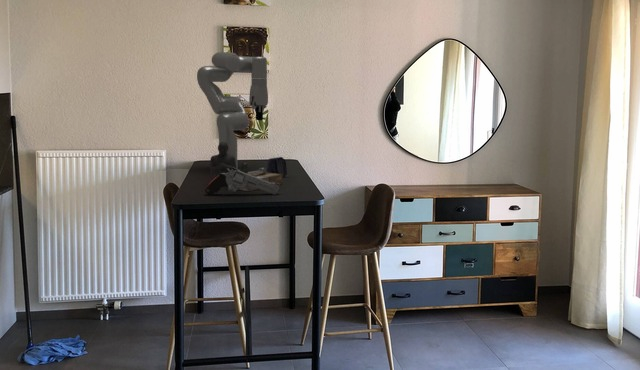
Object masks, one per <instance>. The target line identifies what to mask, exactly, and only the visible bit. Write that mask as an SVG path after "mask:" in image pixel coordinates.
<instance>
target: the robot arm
mask: <svg viewBox="0 0 640 370" xmlns="http://www.w3.org/2000/svg"><path fill="white" fill-rule="evenodd" d="M267 62H268V60H267V58H266V57H265V56H246V55H245V56H239V55H238V54H237V53H235V52H226V51H220V52H219V51H218V52H215V53H214V54H213V55H212V57H211V64H212V65H204V66H201V67H199V69H198V70H197V72H196V79H197V84H198V86H199V88H200V89H201V91H202V93H204V95H205V97H206V99H207V101H208V103H209V105H210V106H211V107H210V108H211V109H212V110H213V112H214V113H215V115H218V116H217V117H216V127H217V131H218V144H219V143H220V142H226V143H227V145H228V151H227V154H228V155H232V156H234V157H235V161H236V169H238V138H237V135H236V134H235V132H234V131H243V130H246V129H247V128H248V127H249V125H250V118H249V116H248V114H247V112H246V109H245V107H244V106H243V103H242V101H241V100H240V99H239V98H237V97H236V96H226V95H225V94H223V91H222V90H221V87H219V86H218V85H216V84H215V83H224V82H227V81H229V79H230V78H231V77H232V75H233V74H235V72H237V73H251V84H250V87H249V96H248V97H249V98H248V99H249V102H248V105H249V106H251V108H252V109H254V113H255V121H263V120H264V111H265V109H267V107H268V104H269V93H268V92H269V91H268V78H267V77H268V63H267ZM238 170H239V171H241V169H238Z"/></svg>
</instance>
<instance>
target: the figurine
mask: <svg viewBox="0 0 640 370" xmlns="http://www.w3.org/2000/svg"><path fill="white" fill-rule="evenodd" d="M217 151H218V154H214V155H212V156H211V157H210V165H209V166H210V167H209V168H210V170H209V174H211V175H213V174H214V179H215V178H216V177H217V176H218V175H219V174H220V173H229V171H228V170H227V169H229V170H230V171H231V170H232V169H233V167H234V168H236V161H235V157H234V156H232V155H228V154H227V151H228V145H227V143H226V142H220V143H219V142H218V146H217ZM235 174H236V173H235Z"/></svg>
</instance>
